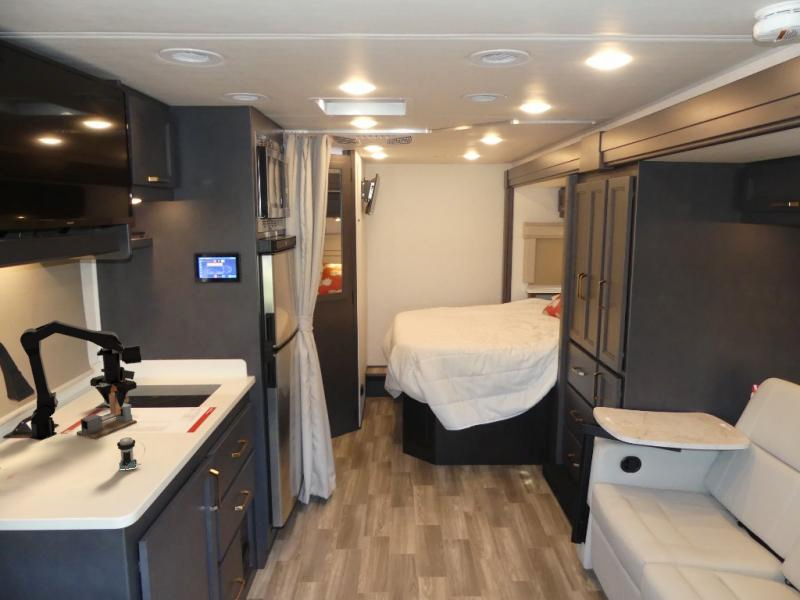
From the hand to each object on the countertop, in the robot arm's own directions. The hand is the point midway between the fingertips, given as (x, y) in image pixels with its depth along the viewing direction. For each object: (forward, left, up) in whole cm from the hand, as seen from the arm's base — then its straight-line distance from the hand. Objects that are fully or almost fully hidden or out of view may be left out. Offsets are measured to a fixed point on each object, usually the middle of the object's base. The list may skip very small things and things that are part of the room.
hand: (115, 405), depth 223 cm
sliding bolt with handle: (-3, 0, -5) cm, 5 cm away
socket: (+3, 0, -7) cm, 8 cm away
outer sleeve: (-10, 0, -7) cm, 12 cm away
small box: (+17, +21, -8) cm, 28 cm away
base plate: (-4, 0, -8) cm, 9 cm away
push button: (-24, -36, -8) cm, 44 cm away
